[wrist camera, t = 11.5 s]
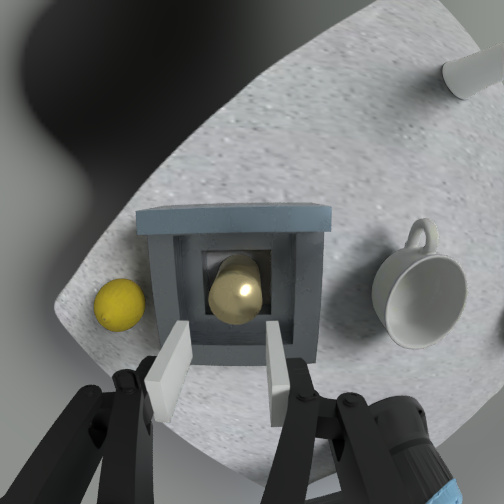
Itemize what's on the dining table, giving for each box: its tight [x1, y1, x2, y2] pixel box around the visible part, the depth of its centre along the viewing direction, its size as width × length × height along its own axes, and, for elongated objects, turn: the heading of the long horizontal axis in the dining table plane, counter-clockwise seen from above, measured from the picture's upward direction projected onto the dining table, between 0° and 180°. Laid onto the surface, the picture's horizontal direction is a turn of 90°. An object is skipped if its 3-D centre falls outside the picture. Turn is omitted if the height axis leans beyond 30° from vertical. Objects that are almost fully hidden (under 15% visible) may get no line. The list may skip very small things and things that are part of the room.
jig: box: [136, 203, 332, 366], centre depth 28 cm, size 16×16×8 cm
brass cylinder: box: [208, 254, 262, 325], centre depth 28 cm, size 5×5×8 cm
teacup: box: [372, 218, 468, 349], centre depth 28 cm, size 14×11×8 cm
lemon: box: [94, 279, 145, 332], centre depth 29 cm, size 6×6×8 cm
